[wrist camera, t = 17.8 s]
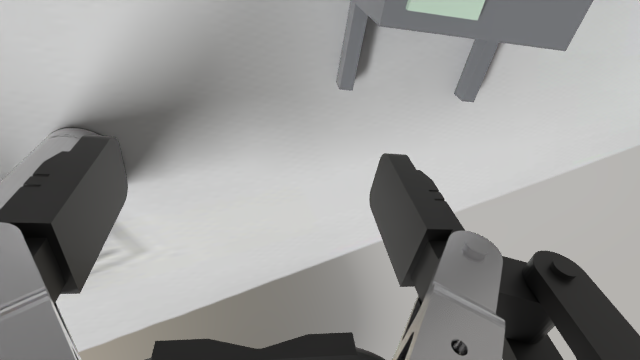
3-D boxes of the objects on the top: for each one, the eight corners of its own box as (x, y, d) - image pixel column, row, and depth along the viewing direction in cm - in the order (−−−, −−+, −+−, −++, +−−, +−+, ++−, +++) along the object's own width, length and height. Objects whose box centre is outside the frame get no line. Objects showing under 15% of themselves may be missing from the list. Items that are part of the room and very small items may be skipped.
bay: (464, 94, 46) (519, 142, 36) (336, 81, 42) (357, 130, 32) (519, -39, 37) (613, -25, 27) (362, -69, 34) (402, -65, 24)
